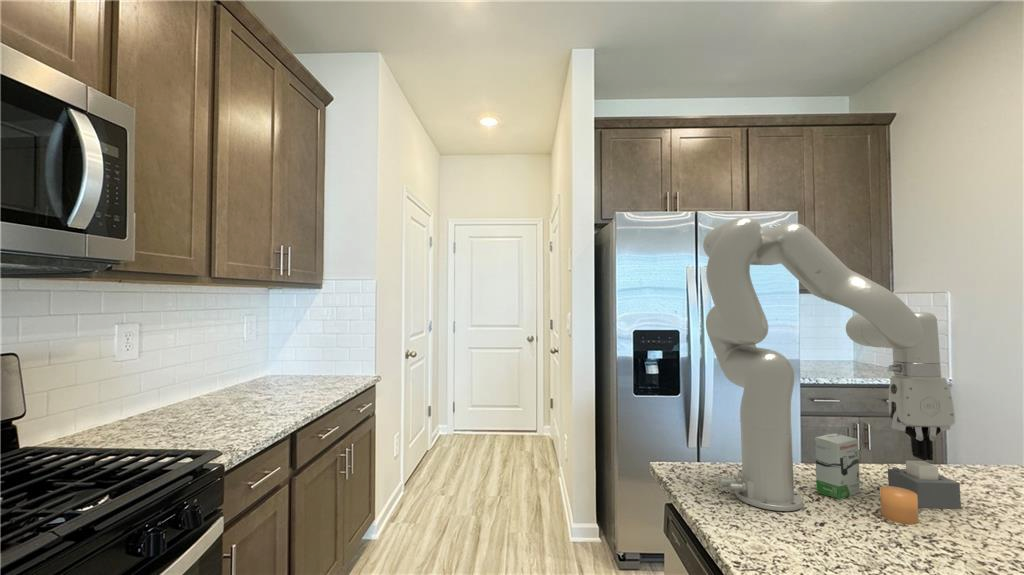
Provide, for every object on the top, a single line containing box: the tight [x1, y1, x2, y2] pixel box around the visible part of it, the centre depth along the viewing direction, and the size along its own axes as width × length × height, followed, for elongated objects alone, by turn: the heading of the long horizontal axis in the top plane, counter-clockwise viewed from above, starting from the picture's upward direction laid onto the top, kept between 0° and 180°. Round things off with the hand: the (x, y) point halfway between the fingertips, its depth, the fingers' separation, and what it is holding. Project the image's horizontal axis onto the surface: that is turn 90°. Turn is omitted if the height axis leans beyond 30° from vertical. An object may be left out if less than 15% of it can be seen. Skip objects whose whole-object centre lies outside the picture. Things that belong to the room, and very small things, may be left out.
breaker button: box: [905, 460, 939, 480], centre depth 96 cm, size 4×4×4 cm
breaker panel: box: [887, 466, 962, 510], centre depth 95 cm, size 8×8×6 cm
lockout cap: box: [879, 485, 920, 526], centre depth 87 cm, size 6×6×5 cm
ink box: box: [814, 433, 861, 500], centre depth 100 cm, size 9×5×12 cm, turn 117°
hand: (922, 458), depth 96 cm, fingers closed
